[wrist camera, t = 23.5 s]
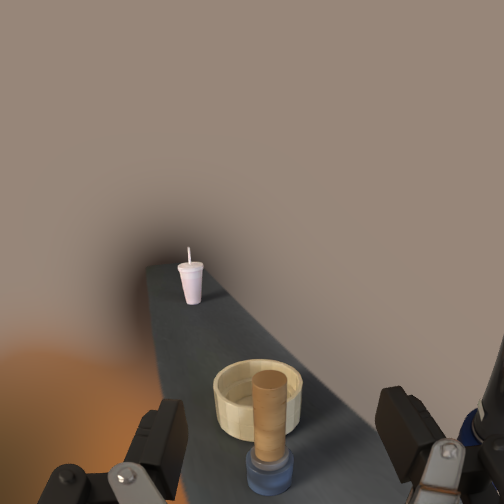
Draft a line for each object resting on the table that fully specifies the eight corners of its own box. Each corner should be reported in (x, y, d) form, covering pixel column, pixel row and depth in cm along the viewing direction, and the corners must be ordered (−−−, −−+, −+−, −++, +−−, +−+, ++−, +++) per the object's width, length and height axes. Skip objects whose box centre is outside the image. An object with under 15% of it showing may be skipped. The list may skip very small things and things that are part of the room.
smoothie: (203, 296, 83) (199, 244, 80) (208, 304, 77) (204, 248, 74) (179, 299, 81) (174, 246, 78) (183, 307, 75) (177, 251, 72)
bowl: (304, 397, 41) (307, 362, 39) (293, 450, 31) (295, 414, 29) (232, 389, 43) (229, 355, 42) (205, 436, 33) (199, 400, 32)
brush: (295, 467, 28) (302, 365, 25) (287, 498, 24) (294, 399, 21) (253, 461, 29) (248, 361, 26) (242, 492, 25) (232, 392, 22)
